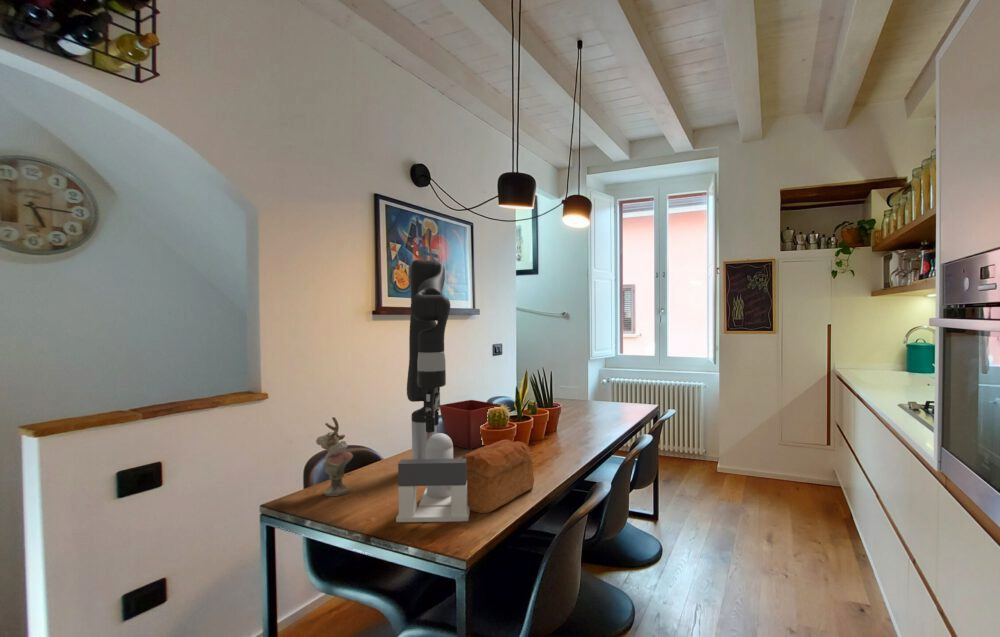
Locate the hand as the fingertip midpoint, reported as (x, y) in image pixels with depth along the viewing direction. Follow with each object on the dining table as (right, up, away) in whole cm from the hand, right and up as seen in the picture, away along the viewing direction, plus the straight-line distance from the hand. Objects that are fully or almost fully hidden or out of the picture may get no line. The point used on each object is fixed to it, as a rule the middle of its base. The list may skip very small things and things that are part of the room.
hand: (432, 428), depth 134 cm
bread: (+17, -24, +15) cm, 33 cm away
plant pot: (+6, -24, +75) cm, 79 cm away
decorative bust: (-34, -25, +21) cm, 47 cm away
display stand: (0, -24, +8) cm, 25 cm away
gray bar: (0, -15, 0) cm, 15 cm away
